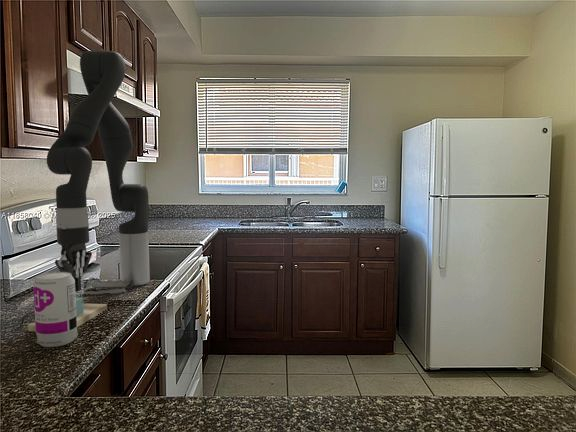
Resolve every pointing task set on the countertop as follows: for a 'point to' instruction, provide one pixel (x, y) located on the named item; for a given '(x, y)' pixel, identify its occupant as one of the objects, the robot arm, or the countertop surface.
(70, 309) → the supplement can
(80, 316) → the board
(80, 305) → the block
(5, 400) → the countertop surface
